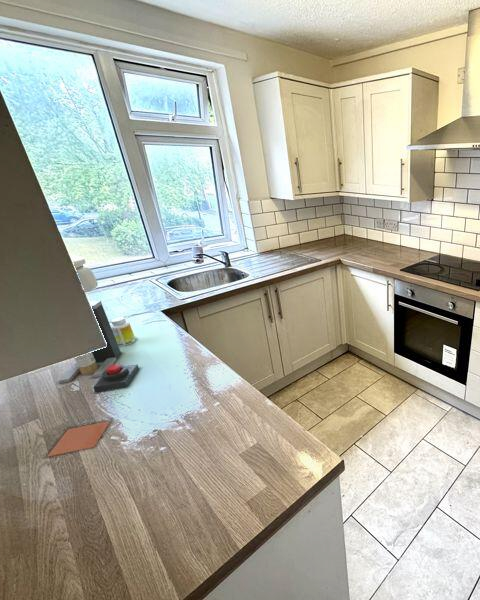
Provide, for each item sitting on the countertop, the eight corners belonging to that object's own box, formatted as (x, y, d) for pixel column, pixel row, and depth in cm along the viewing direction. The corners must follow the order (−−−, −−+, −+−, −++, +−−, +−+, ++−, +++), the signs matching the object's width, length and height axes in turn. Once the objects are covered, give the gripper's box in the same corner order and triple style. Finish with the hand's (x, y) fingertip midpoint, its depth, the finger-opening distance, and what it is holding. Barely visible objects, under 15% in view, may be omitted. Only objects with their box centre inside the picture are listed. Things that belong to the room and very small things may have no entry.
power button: (106, 375, 100) (104, 370, 99) (111, 369, 103) (109, 365, 102) (119, 373, 101) (117, 369, 100) (123, 367, 104) (121, 363, 103)
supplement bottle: (138, 338, 128) (129, 314, 124) (133, 345, 123) (124, 321, 119) (121, 340, 126) (111, 317, 122) (115, 348, 121) (105, 323, 117)
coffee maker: (60, 384, 102) (30, 323, 94) (84, 360, 114) (59, 304, 106) (103, 377, 105) (78, 318, 97) (121, 354, 117) (100, 300, 109)
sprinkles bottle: (87, 368, 110) (71, 333, 104) (102, 367, 110) (87, 332, 105) (77, 376, 105) (60, 340, 100) (93, 375, 106) (77, 339, 101)
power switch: (95, 393, 98) (90, 382, 96) (110, 374, 107) (106, 364, 105) (127, 388, 100) (123, 377, 99) (139, 370, 109) (135, 359, 107)
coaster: (47, 458, 77) (46, 456, 76) (69, 430, 84) (68, 429, 84) (94, 448, 79) (93, 446, 79) (111, 422, 87) (110, 420, 87)
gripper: (-15, 270, 87) (10, 317, 93) (79, 263, 93) (97, 307, 99) (2, 264, 93) (25, 308, 98) (90, 257, 99) (107, 299, 104)
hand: (62, 307), depth 99 cm, fingers open, 8 cm apart
